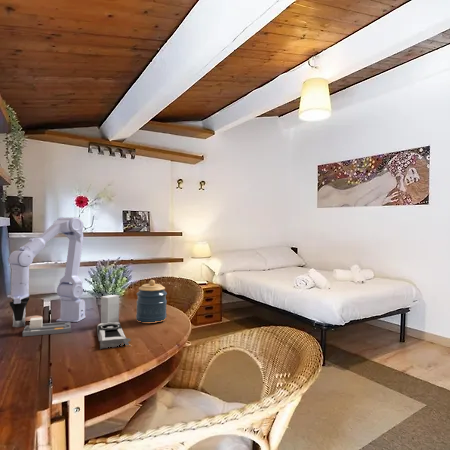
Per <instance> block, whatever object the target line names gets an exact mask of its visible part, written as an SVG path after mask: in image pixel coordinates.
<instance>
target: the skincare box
mask: <svg viewBox="0 0 450 450" xmlns="http://www.w3.org/2000/svg"><path fill="white" fill-rule="evenodd" d="M119 314H120V295H118V294H113V295H112V294H109V295H103V296H100V324H101V323H103V324H105V323H114V322H119V323H120V321H119V320H120V318H119V317H120V315H119Z"/></svg>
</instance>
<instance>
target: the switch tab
mask: <svg viewBox="0 0 450 450" xmlns="http://www.w3.org/2000/svg"><path fill="white" fill-rule="evenodd" d="M43 319H44V318H43V316H42V317H40V318H31V319H30V322H29V326H30V328H39V327H42V324H44V323H43Z"/></svg>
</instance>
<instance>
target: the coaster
mask: <svg viewBox="0 0 450 450" xmlns="http://www.w3.org/2000/svg"><path fill="white" fill-rule="evenodd" d="M40 317H43V316H42V315H30V316H25V322H26V321H30V319H31V318H40Z"/></svg>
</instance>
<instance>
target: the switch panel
mask: <svg viewBox="0 0 450 450" xmlns="http://www.w3.org/2000/svg"><path fill="white" fill-rule="evenodd" d="M71 323H72V322H65V321H57V322H48V323H43V324H42V327H39V328H30V324H29V325H25V326H24V329H23V330H22V337H33V336H42V335H57V334H65V333H66V334H68V333H71V328H72V327H71Z"/></svg>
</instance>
